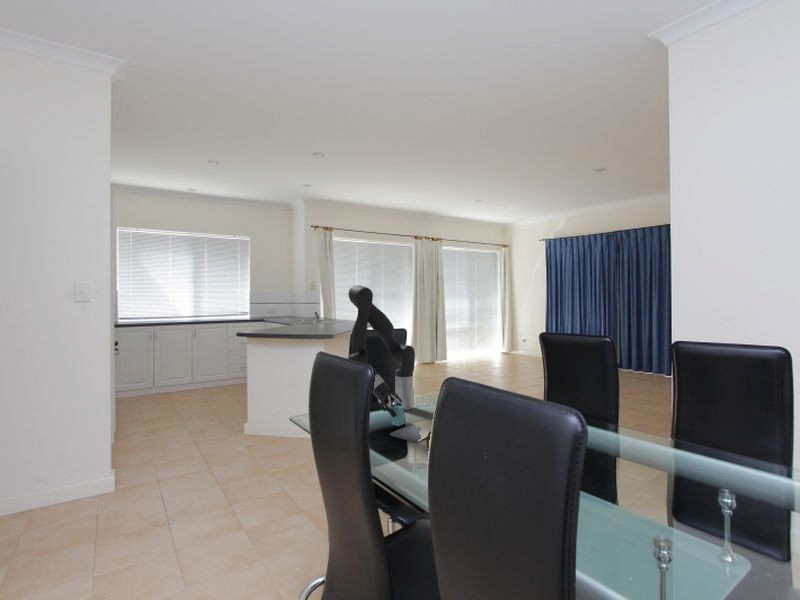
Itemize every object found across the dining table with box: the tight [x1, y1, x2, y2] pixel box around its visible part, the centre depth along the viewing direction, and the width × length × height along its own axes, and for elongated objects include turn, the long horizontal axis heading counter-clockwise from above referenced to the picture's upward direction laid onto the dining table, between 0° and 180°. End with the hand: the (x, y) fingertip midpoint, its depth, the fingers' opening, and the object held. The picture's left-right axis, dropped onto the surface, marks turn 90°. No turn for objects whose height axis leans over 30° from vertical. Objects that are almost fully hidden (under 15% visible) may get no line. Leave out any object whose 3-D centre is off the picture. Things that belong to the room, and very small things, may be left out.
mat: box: [389, 424, 423, 442], centre depth 176 cm, size 14×14×1 cm
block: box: [391, 405, 405, 427], centre depth 190 cm, size 4×4×8 cm
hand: (399, 414), depth 190 cm, fingers open, 8 cm apart
